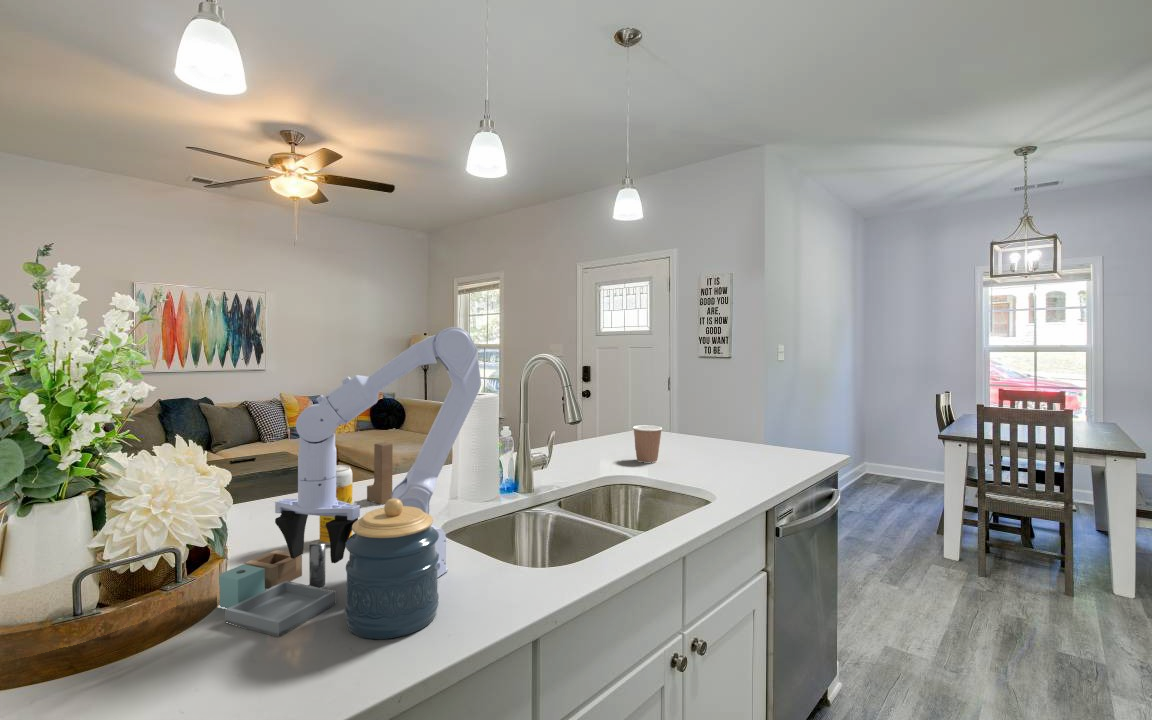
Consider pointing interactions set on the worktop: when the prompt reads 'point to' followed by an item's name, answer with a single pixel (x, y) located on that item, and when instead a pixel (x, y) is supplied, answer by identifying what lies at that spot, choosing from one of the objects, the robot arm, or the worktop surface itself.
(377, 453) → the wooden block
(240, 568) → the teal block
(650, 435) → the coffee cup
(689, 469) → the worktop surface
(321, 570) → the cylinder
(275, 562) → the brown wooden square frame
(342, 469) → the beer can
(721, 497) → the worktop surface
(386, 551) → the canister
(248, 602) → the tray
